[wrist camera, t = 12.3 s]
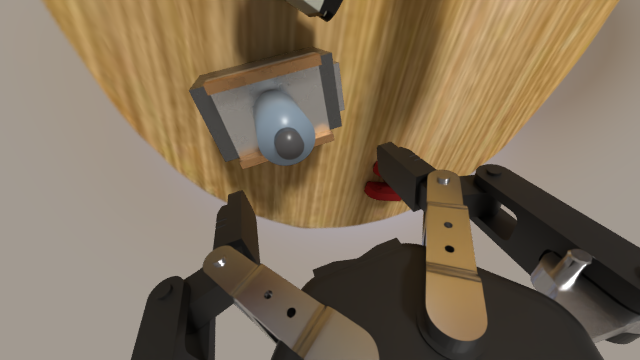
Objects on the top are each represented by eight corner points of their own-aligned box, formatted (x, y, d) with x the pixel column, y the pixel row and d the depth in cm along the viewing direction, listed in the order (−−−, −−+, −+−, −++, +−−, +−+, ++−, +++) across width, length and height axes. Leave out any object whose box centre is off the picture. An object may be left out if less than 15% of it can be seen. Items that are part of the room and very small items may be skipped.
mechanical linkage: (360, 186, 53) (370, 199, 49) (371, 159, 50) (383, 171, 46) (413, 190, 59) (426, 202, 55) (427, 166, 56) (441, 176, 52)
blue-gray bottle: (291, 84, 26) (313, 108, 18) (302, 126, 29) (324, 163, 21) (245, 97, 25) (248, 128, 18) (261, 139, 28) (270, 181, 21)
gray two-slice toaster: (315, 40, 34) (348, 46, 24) (326, 105, 40) (357, 133, 30) (199, 69, 32) (181, 90, 22) (229, 134, 38) (226, 174, 28)
